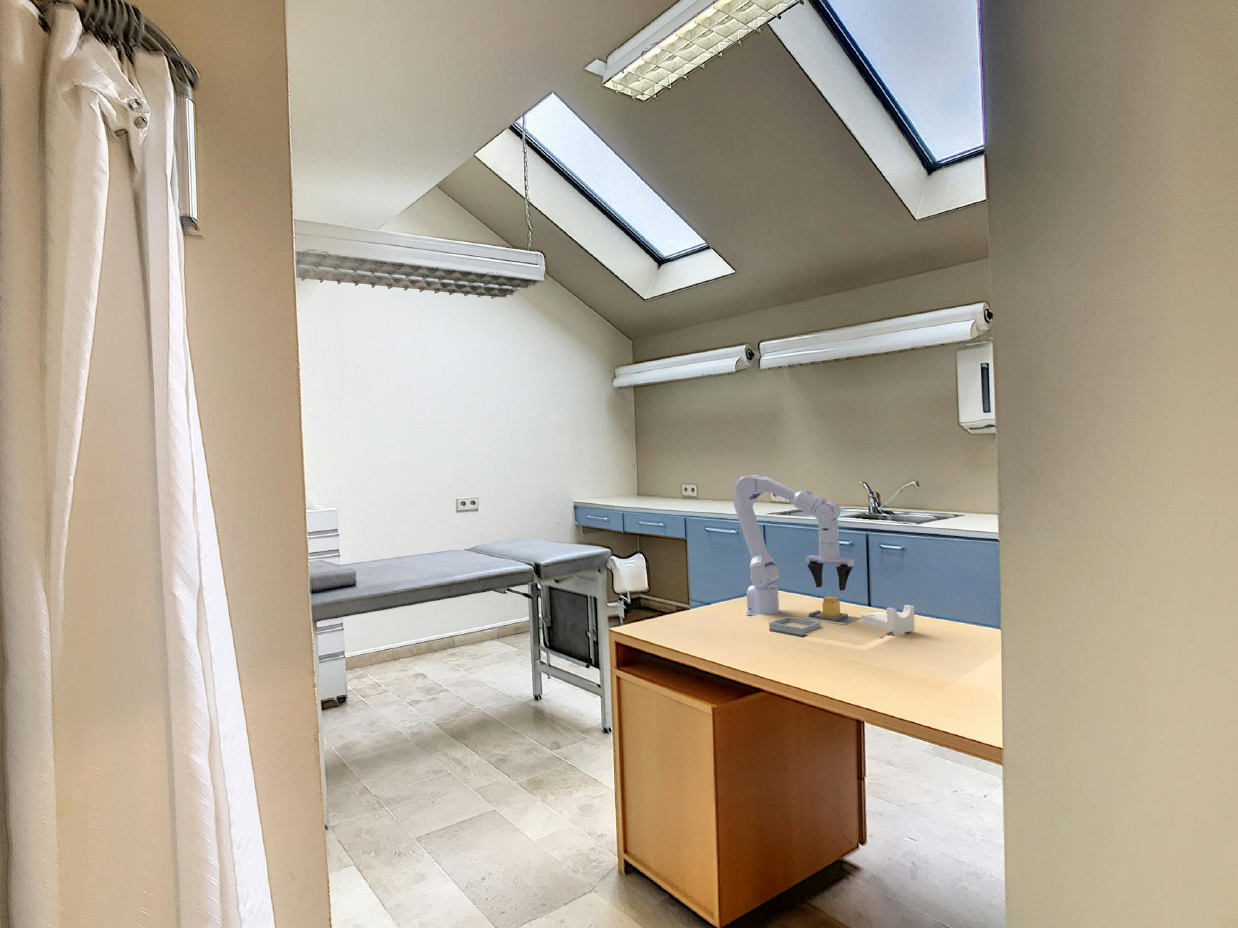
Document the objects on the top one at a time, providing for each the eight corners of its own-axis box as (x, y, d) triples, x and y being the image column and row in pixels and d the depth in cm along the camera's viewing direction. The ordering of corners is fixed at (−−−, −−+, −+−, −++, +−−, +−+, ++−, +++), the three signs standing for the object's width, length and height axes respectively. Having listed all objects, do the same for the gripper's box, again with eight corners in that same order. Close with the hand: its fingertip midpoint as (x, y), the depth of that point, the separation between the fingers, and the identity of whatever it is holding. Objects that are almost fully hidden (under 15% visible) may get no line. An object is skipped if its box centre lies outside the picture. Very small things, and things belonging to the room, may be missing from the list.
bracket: (914, 633, 195) (913, 606, 195) (894, 637, 192) (893, 609, 192) (881, 623, 207) (880, 597, 207) (861, 626, 204) (860, 600, 204)
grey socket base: (801, 621, 212) (801, 614, 212) (819, 615, 218) (819, 608, 218) (844, 629, 201) (844, 621, 201) (862, 622, 208) (862, 614, 208)
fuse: (823, 618, 210) (822, 598, 210) (829, 615, 212) (828, 595, 212) (834, 620, 207) (833, 599, 207) (840, 617, 210) (839, 597, 210)
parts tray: (769, 631, 203) (769, 622, 203) (787, 624, 209) (786, 616, 209) (803, 637, 195) (802, 628, 195) (820, 630, 201) (820, 622, 201)
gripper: (858, 542, 207) (860, 588, 207) (814, 539, 217) (816, 583, 218) (846, 545, 202) (848, 593, 202) (801, 542, 213) (803, 587, 213)
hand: (830, 588), depth 210 cm, fingers open, 7 cm apart
